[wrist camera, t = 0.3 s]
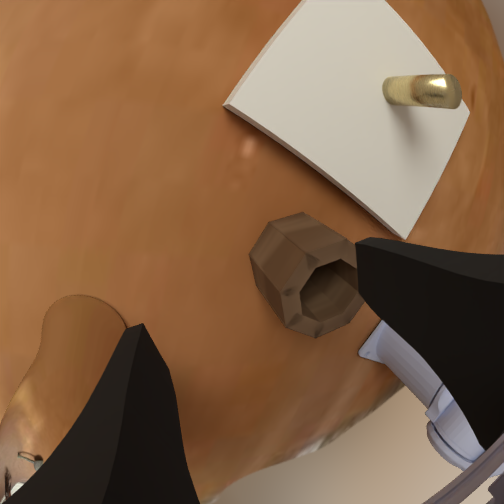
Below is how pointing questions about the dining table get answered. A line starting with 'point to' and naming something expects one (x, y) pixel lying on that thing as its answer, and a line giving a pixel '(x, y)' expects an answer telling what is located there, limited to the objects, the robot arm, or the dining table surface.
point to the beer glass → (56, 385)
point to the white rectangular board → (352, 105)
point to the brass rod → (423, 91)
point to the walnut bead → (307, 274)
